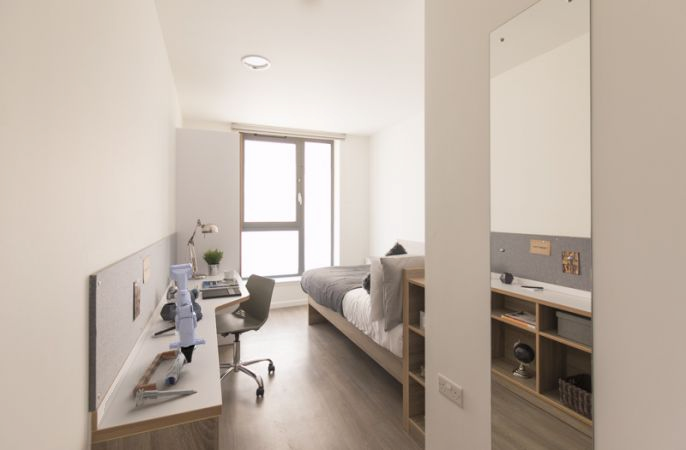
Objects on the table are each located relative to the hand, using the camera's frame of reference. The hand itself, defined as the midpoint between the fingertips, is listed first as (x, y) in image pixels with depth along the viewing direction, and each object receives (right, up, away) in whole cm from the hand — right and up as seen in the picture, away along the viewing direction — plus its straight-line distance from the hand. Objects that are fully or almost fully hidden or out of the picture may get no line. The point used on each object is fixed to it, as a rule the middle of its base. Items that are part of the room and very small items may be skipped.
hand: (189, 362), depth 148 cm
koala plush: (-30, 0, +67) cm, 73 cm away
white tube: (-4, -4, -1) cm, 6 cm away
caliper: (+2, -5, -23) cm, 23 cm away
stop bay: (-12, -4, -3) cm, 13 cm away
